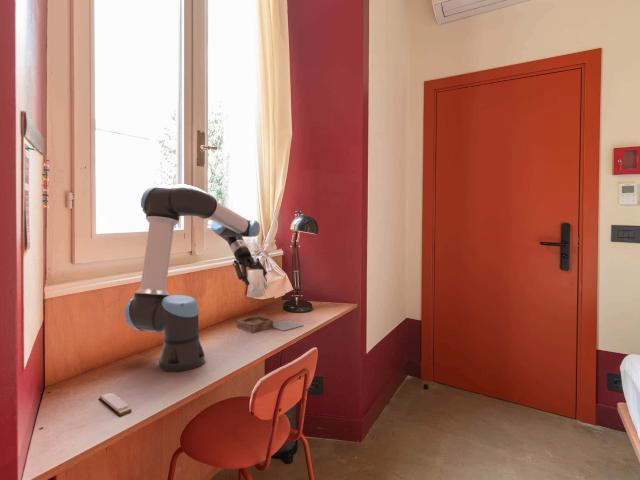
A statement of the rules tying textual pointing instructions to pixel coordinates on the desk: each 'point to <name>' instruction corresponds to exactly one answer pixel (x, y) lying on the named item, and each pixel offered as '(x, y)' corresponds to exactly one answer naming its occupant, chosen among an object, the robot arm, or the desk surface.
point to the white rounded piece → (256, 282)
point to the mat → (286, 325)
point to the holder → (254, 323)
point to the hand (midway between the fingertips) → (259, 288)
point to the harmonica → (115, 404)
